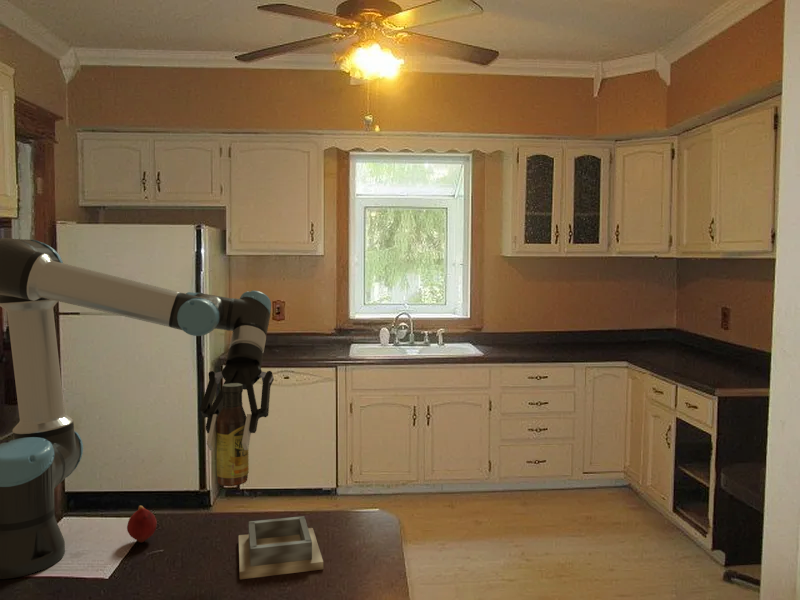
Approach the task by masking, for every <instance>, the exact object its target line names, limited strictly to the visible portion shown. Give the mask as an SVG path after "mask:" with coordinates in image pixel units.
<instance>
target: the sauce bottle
mask: <svg viewBox="0 0 800 600" xmlns="http://www.w3.org/2000/svg"><path fill="white" fill-rule="evenodd" d="M223 384H224V383H223ZM223 384H222V385H221V389H222V392H223V408H222V410H221V412H220V414H219V415H218V419H217V437H216V476H217V484H218V485H220V486H223V487H235V486H236V487H237V486H240V485H243V484H246V483H247V481H248V479H249V477H248V476H249V475H248V474H249V471H250V468H249V466H250V465H249V464H250V463H249V462H250V461H249V460H250V459H249V455H250V454H249V448H248V450H244V448H243V445H242V439H243V433H244V428H245V422H246V417H247V414H246V412H245V410H244V406H243V392H244V391H243V390H244V389H243V385H242V384H240V383H229V384H224V385H223Z"/></svg>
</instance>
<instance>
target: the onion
mask: <svg viewBox="0 0 800 600" xmlns="http://www.w3.org/2000/svg"><path fill="white" fill-rule="evenodd" d="M137 509H138V510H136V511H135V512H134V513H133V514H132V515H131V516H130V517H129V519H128V521H127V526H126V529H127V530H126V531H127V533H128V534H129V536H130V537H131V538H132V539H134V540H136V541H137V542H138V543H144V542H145V541H146V540H148V539H150V538H151V537H152V536H153V535H154V533H155V531H156V529H157V524H158V523H157V518H156V515H155V514H154V513H153V512H152V511H150V510H149V509H146V508H145V507H144V506H143V505H138V508H137Z"/></svg>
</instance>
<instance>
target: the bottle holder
mask: <svg viewBox="0 0 800 600" xmlns="http://www.w3.org/2000/svg"><path fill="white" fill-rule="evenodd" d="M238 563H239V564H238V565H239V568H238V570H239V580H245V579H255V578H264V577H270V576H279V575H287V574H294V573H296V574H297V573H304V572H310V571H311V572H312V571H318V570H319V571H320V570H324V559H323V556H322V553H321V550H320V547H319V544H318V541H317V537H316V534H315V531H314V528H313V527H308V523H307V520H306V516H305V515H303V516H301V515H300V516H293V517H282V518H273V519H272V518H271V519H261V520H250V521H248V534H239V535H238Z"/></svg>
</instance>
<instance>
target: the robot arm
mask: <svg viewBox="0 0 800 600" xmlns="http://www.w3.org/2000/svg"><path fill="white" fill-rule="evenodd" d="M60 255H61V254H59V253H58V252H57V250H56V249H54V248H53V247H51V245H48V244H46V243H45V242H41V241H39V240H37V239H36V240H35V239H27V238H25V239H24V238H23V239H22V238H21V239H20V238H13V237H10V238H8V237H3V238H2V237H1V238H0V307H1V308H2V309H4V310H5V311H6V312H7V321H8V330H9V331H8V332H9V338H10V347H11V355H12V366H13V373H14V380H15V382H14V383H15V390H16V399H17V408H18V416H19V422H18V423H17V424H16V425H15V426H14V427H13V428H12V437H13V439H11V440H9V441H8V442H1V443H0V580H7V579H15V578H21V577H25V576H29V575H32V573H33V574H36V573H38V572H41V571H43V569H44V570H46V569H47V568H50V567H52V566H53V565H55V564H56V563H58V562H59V561H60V560H61V559H62V558H63V557H64V556H65V553H66V547H65V546H66V543H65V538H64V536H63V533H62V532H61V529H60V526H59V524H58V521H57V519H56V516H55V489H56V487H58V485H60V484H61V483H62V482H63V481H64V480H65V479H66V478H68V477H69V476H71V474H73V472H74V471H75V470H76V469H77V467H78V465H79V464H80V462H81V459H82V457H83V454H84V444H83V440H82V437H81V436H80V434H79V433H78V432H77V431H75V425H74V419H73V418H72V417H71V416H69V415H68V414H66V413H65V403H64V395H63V388H62V376H61V369H60V368H61V367H60V358H59V350H58V349H59V348H58V340H57V330H56V323H55V312H54V307H55V306H56V304H58V303H59V302H60V303H65V304H69V305H72V306H76V307H77V306H78V307H81V308H85V309H90V310H95V311H99V312H104V313H106V314H107V313H108V314H113V315H116V316H121V317H125V318H129V319H133V320H138V321H141V322H147V323H151V324H155V325H159V326H164V327H169V328H173V329H175V330H179V331H183V332H184V333H186V334H187V335H190V336H192V337H202V336H206V335H207V334H210V333H212V332H213V331H214V330H216V329H217V330H221V331H222V330H223V331H228V332H229V331H230V332H232V333H231V338H230V342H229V349H228V351H227V355H226V356H227V357H226V359H225V366H224V367H223V368H222V370H221V371H218V372H214V371H213V370H210V371H209V372H208V383H207V386H206V389H205V391H204V395H203V398H202V402H201V405H200V408H199V411H200V413H201V415H202V418H205V419H206V418H207V419H206V423H205V430H206V434H208V436H207V440H206V445H207V448H208V449H209V451H214V450H215V446H216V445H215V444H216V443H217V419H218V416H219V414H220V412H221V411H222V409H223V392H222V388H221V390H220V391H219V393H218V394H217V396H216V392H217V389H218V384H220V382H221V380H222V379H223V380H224V382H223V384H222V385H224V384H229V383H240V384H242V385H243V390H246V393H247V398H248V402H249V408H250V412H251V413H247V414H246V422H245V428H244V433H243V439H242V445H243V448H244V450H248V448H249V447H250V441H251V435H252V434H256V433H257V429H258V425H259V424H258V423H259V420H260V418H267V417H268V416H269V411H270V396H271V386H272V384H273V382H274V380H275V379H274V375H273V372H272V370H268V371H267V372H266V371H262V364H263V358H264V351H265V346H266V342H267V341H266V340H267V334H268V330H269V324H270V319H271V311H272V302H271V299H270V298H269V296H268V295H267V294H265V293H264V292H262V291H259V290H251V291H245V292H243V293H242V294H241V295H240V297H239V298H237V297H236V298H234V297H231V298H230V297H225V296H220V295H213V294H208V293H203V292H191V291H188V292H186V293H185V292H180V291H176V290H174V289H173V290H171V289H168V288H164V287H160V286H157V285H152V284H148V283H143V282H140V281H136V280H131V279H127V278H124V277H120V276H116V275H113V274H108V273H104V272H99V271H95V270H91V269H86V268H83V267H79V266H76V265H70V264H67V263H64V261H63V259H62V258H61V256H60ZM259 380H261V381H262V387H261V398H260V400H261V401H260V408H258V403H257V401H256V400H257V399H256V395H255V390H254V385H255V384H256V383H257V382H258V381H259ZM215 396H216V397H215ZM40 570H41V571H40ZM37 571H38V572H37ZM35 572H36V573H35ZM28 574H29V575H28Z"/></svg>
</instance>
